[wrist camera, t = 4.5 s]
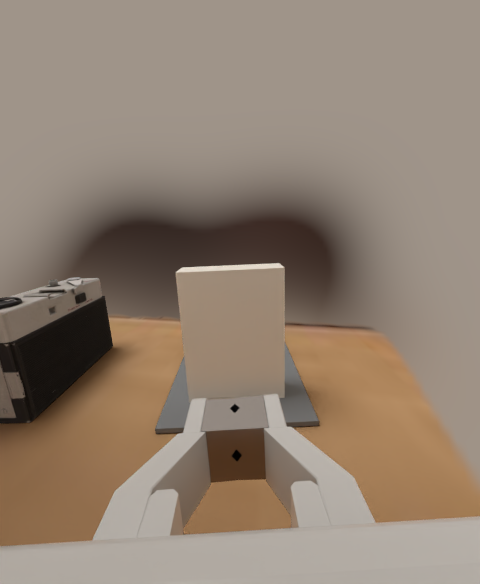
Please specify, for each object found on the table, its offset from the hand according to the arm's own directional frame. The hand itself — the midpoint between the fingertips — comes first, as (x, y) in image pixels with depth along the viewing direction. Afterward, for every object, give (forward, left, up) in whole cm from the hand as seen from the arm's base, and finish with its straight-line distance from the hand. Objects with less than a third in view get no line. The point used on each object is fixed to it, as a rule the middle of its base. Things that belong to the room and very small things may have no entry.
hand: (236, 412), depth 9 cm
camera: (-20, +17, -8) cm, 28 cm away
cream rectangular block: (0, +12, -8) cm, 14 cm away
